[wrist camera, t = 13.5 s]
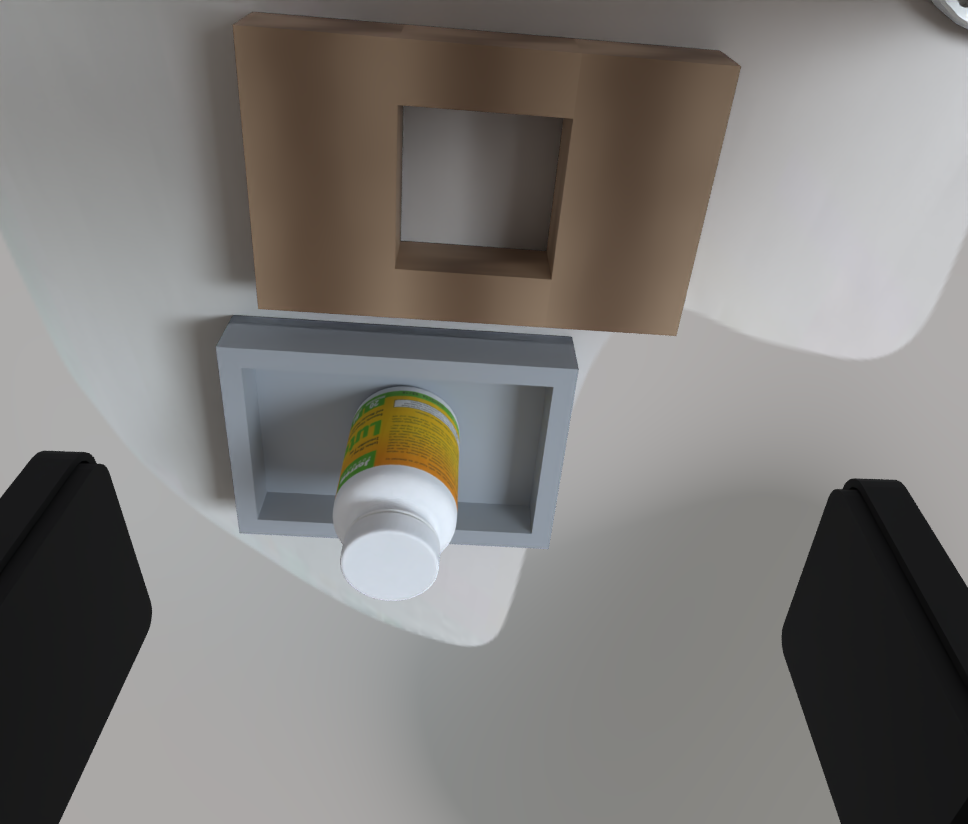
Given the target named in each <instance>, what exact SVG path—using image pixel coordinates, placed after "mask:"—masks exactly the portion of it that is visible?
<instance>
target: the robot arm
mask: <svg viewBox="0 0 968 824" xmlns="http://www.w3.org/2000/svg"><path fill="white" fill-rule="evenodd" d="M931 1H932V2H933V3H934V5H935V6H936V7H937V8H938V9H940V10H941V11H942V12H943V13H944V14H945V15H947V16H948V17H949V18H950V19H951V20H952V21H954V22H955V23H956V24H958V25H960V26H962V27H964V28H966V29H968V0H931ZM151 617H152V606H151V601H150V598H149V595H148V592H147V589H146V586H145V583H144V579H143V576H142V573H141V570H140V567H139V564H138V561H137V558H136V554H135V552H134V548H133V545H132V542H131V539H130V536H129V533H128V530H127V526H126V523H125V520H124V517H123V514H122V511H121V508H120V505H119V501H118V499H117V495H116V492H115V489H114V486H113V483H112V480H111V476H110V474H109V471H108V469H107V467H105V465H103V464H97V463H96V461H95V459H94V457H92V455H91V454H90V453H86V452H64V451H41V452H39V453H37V454H36V455H35V456H34V457H33V458H32V459H31V460H30V461H29V462H28V464H27V465H26V466H25V468H24V469H23V470H22V471H21V473H20V474H19V475H18V476H17V478H16V479H15V480H14V482H13V483H12V484H11V485H10V487H9V488H8V489H7V490H6V492H5V493H4V494H3V495H2V497H1V498H0V824H59V822H60V820H61V817H62V815H63V813H64V811H65V809H66V807H67V805H68V802H69V800H70V798H71V796H72V794H73V792H74V790H75V787H76V785H77V783H78V781H79V779H80V777H81V775H82V772H83V770H84V768H85V766H86V764H87V762H88V760H89V757H90V755H91V753H92V751H93V749H94V747H95V745H96V742H97V740H98V738H99V736H100V734H101V732H102V729H103V727H104V725H105V723H106V721H107V719H108V717H109V715H110V712H111V710H112V708H113V706H114V703H115V702H116V699H117V697H118V695H119V693H120V691H121V688H122V687H123V684H124V682H125V680H126V678H127V676H128V674H129V671H130V669H131V667H132V665H133V663H134V661H135V659H136V656H137V654H138V652H139V650H140V648H141V646H142V644H143V642H144V639H145V637H146V635H147V633H148V630H149V627H150V624H151ZM782 648H783V653H784V657H785V660H786V663H787V666H788V668H789V672H790V674H791V677H792V680H793V683H794V686H795V689H796V692H797V695H798V698H799V701H800V704H801V707H802V710H803V713H804V716H805V719H806V722H807V725H808V728H809V730H810V733H811V737H812V739H813V742H814V745H815V748H816V751H817V754H818V757H819V760H820V763H821V766H822V769H823V772H824V775H825V778H826V781H827V784H828V787H829V790H830V793H831V796H832V799H833V801H834V804H835V807H836V810H837V813H838V816H839V819H840V822H841V824H968V587H967V586H966V584H965V582H964V581H963V579H962V578H961V576H960V574H959V573H958V571H957V570H956V568H955V566H954V565H953V563H952V561H951V560H950V558H949V556H948V555H947V553H946V552H945V550H944V548H943V547H942V545H941V544H940V542H939V541H938V539H937V537H936V535H935V534H934V532H933V531H932V530H931V527H930V526H929V524H928V523H927V521H926V520H925V518H924V516H923V514H922V513H921V512H920V510H919V508H918V506H917V505H916V503H915V502H914V500H913V498H912V497H911V495H910V493H909V492H908V490H907V489H906V487H905V486H904V485H903V484H902V483H901V482H899V481H897V480H883V479H881V480H880V479H850V480H849V481H847V482H846V483H845V485H844V487H843V489H836V490H833V491H832V493H831V494H830V496H829V498H828V501H827V504H826V506H825V509H824V512H823V515H822V518H821V521H820V524H819V526H818V529H817V532H816V535H815V537H814V540H813V543H812V546H811V549H810V552H809V555H808V557H807V560H806V563H805V566H804V568H803V571H802V574H801V577H800V580H799V583H798V585H797V588H796V591H795V594H794V597H793V600H792V602H791V605H790V608H789V611H788V614H787V616H786V619H785V622H784V625H783V629H782Z"/></svg>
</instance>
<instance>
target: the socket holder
mask: <svg viewBox="0 0 968 824" xmlns="http://www.w3.org/2000/svg"><path fill="white" fill-rule="evenodd" d="M233 35H234V46H235V58H236V69H237V80H238V91H239V102H240V113H241V124H242V135H243V146H244V157H245V168H246V179H247V190H248V201H249V212H250V223H251V234H252V245H253V256H254V267H255V278H256V289H257V300H258V309H268V310H283V311H298V312H314V313H329V314H345V315H360V316H376V317H391V318H407V319H422V320H438V321H453V322H468V323H484V324H499V325H515V326H530V327H546V328H561V329H577V330H592V331H608V332H623V333H639V334H654V335H669V336H676V335H677V331H678V327H679V322H680V318H681V314H682V310H683V306H684V302H685V298H686V293H687V289H688V285H689V281H690V277H691V273H692V269H693V264H694V260H695V256H696V252H697V248H698V244H699V239H700V235H701V231H702V227H703V223H704V219H705V215H706V210H707V206H708V202H709V198H710V194H711V190H712V185H713V181H714V177H715V173H716V169H717V165H718V161H719V156H720V152H721V148H722V144H723V140H724V136H725V131H726V127H727V123H728V119H729V115H730V111H731V106H732V102H733V98H734V94H735V90H736V86H737V82H738V77H739V73H740V69H741V66H740V65H739V64H737V63H736V62H735V61H733V60H732V59H731V58H729V57H728V56H727V55H725V54H724V53H723V52H721V51H719V50H707V49H694V48H682V47H670V46H658V45H646V44H634V43H622V42H610V41H598V40H586V39H574V38H562V37H550V36H538V35H525V34H513V33H501V32H489V31H477V30H465V29H453V28H441V27H429V26H417V25H405V24H393V23H381V22H369V21H356V20H344V19H332V18H320V17H308V16H296V15H284V14H272V13H260V12H252V13H250V14H248V15H247V16H245V17H244V18H242V19H241V20H239V21H238V22H236V23H235V24H233ZM403 106H416V107H429V108H442V109H455V110H467V111H480V112H493V113H506V114H519V115H532V116H545V117H557V118H563V125H562V133H561V141H560V149H559V156H558V164H557V172H556V180H555V188H554V195H553V203H552V211H551V219H550V227H549V234H548V242H547V250H546V251H538V250H523V249H509V248H495V247H480V246H466V245H451V244H437V243H423V242H408V241H401V197H402V145H403Z"/></svg>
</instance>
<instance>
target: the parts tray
mask: <svg viewBox="0 0 968 824" xmlns="http://www.w3.org/2000/svg"><path fill="white" fill-rule="evenodd" d="M216 353H217V361H218V369H219V376H220V384H221V392H222V400H223V408H224V416H225V423H226V431H227V439H228V447H229V455H230V462H231V470H232V478H233V486H234V494H235V502H236V509H237V517H238V525H239V533H245V534H265V535H285V536H304V537H324V538H338V536H337V534H336V532H335V528H334V525H333V507H334V501H335V496H336V492H337V487H338V483H339V478H340V474H341V469H342V465H343V460H344V455H345V451H346V447H347V442H348V438H349V434H350V429H351V425H352V421H353V418H354V416H355V413H356V411H357V410H358V408H359V407H360V405H361V404H362V403H363V402H364V401H365V400H366V399H367V398H368V397H370V396H371V395H373V394H374V393H376V392H378V391H380V390H383V389H386V388H391V387H398V386H408V387H416V388H420V389H423V390H426V391H429V392H431V393H433V394H435V395H436V396H438V397H439V398H441V399H442V400H443V401H445V402H446V403H447V404H448V406H449V407H450V408H451V409H452V411H453V413H454V414H455V416H456V419H457V422H458V426H459V438H460V442H459V472H458V510H457V523H456V528H455V532H454V535H453V537H452V539H451V541H450V543H449V544H461V545H481V546H501V547H520V548H540V549H541V548H542V549H549V544H550V538H551V532H552V525H553V520H554V514H555V508H556V502H557V496H558V489H559V484H560V478H561V472H562V466H563V459H564V454H565V448H566V441H567V436H568V430H569V424H570V418H571V412H572V406H573V400H574V394H575V388H576V382H577V376H578V370H579V369H578V364H577V359H576V354H575V349H574V344H573V339H572V337H565V336H549V335H533V334H518V333H502V332H487V331H471V330H456V329H440V328H424V327H409V326H393V325H378V324H362V323H347V322H331V321H315V320H300V319H284V318H269V317H253V316H238V315H233V316H232V318H231V320H230V322H229V324H228V325H227V327H226V329H225V331H224V333H223V335H222V336H221V338H220V340H219V342H218V344H217V346H216Z"/></svg>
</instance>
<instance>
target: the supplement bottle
mask: <svg viewBox="0 0 968 824" xmlns="http://www.w3.org/2000/svg"><path fill="white" fill-rule="evenodd" d="M459 442H460V438H459V426H458V422H457V419H456V416H455V414H454V413H453V411H452V409H451V408H450V407H449V406H448V404H447V403H446V402H445V401H443V400H442V399H441V398H439V397H438V396H436V395H435V394H433V393H431V392H429V391H426V390H423V389H420V388H416V387H408V386H398V387H391V388H386V389H383V390H380V391H378V392H376V393H374V394H373V395H371V396H370V397H368V398H367V399H366V400H365V401H364V402H363V403H362V404H361V405H360V407H359V408H358V410H357V411H356V413H355V416H354V418H353V421H352V425H351V429H350V434H349V438H348V442H347V447H346V451H345V455H344V460H343V465H342V469H341V474H340V478H339V483H338V487H337V492H336V496H335V501H334V507H333V525H334V528H335V532H336V534H337V536H338V538H339V539H340V541H341V543H342V544H343V546H342V552H341V559H340V565H341V570H342V573H343V576H344V577H345V579H346V580H347V582H348V583H349V584H350V585H351V586H352V587H353V588H354V589H356V590H357V591H359V592H360V593H362V594H364V595H366V596H368V597H371V598H375V599H379V600H386V601H398V600H406V599H409V598H413V597H415V596H418V595H420V594H421V593H423V592H425V591H426V590H427V589H428V588H429V587H430V586H431V585H432V584H433V582H434V581H435V579H436V577H437V574H438V570H439V559H440V553H441V552H442V551H443V550H444V549H445V548H446V547H447V546H448V544H449V543H450V541H451V539H452V537H453V535H454V532H455V528H456V523H457V510H458V472H459Z"/></svg>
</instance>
